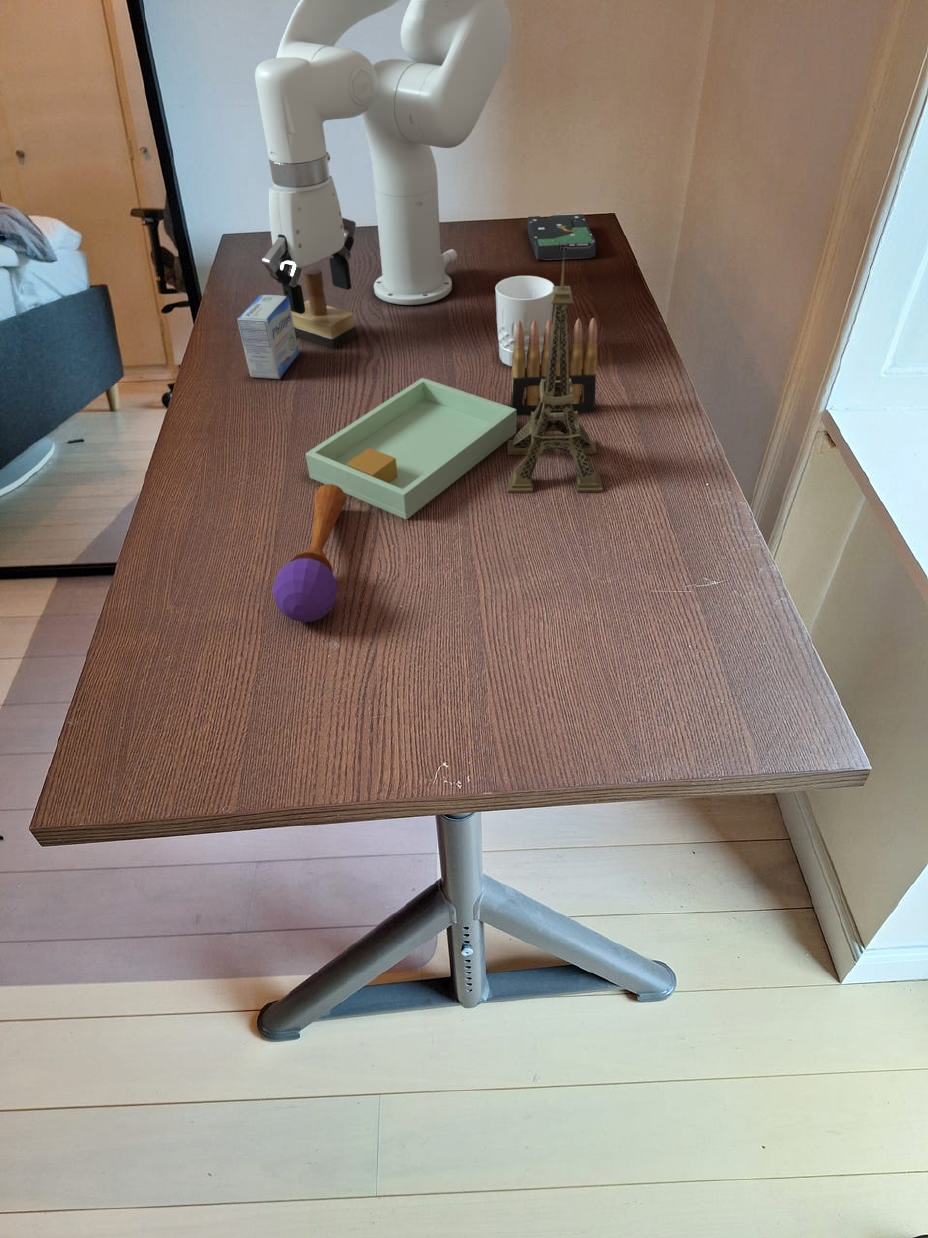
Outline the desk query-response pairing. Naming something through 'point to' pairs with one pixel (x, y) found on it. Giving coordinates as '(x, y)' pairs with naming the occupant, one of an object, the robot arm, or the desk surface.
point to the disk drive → (561, 237)
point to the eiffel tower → (543, 421)
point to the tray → (414, 445)
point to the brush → (322, 316)
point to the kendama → (311, 565)
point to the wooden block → (375, 465)
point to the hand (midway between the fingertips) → (319, 298)
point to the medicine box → (268, 336)
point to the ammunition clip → (576, 373)
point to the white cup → (522, 311)
